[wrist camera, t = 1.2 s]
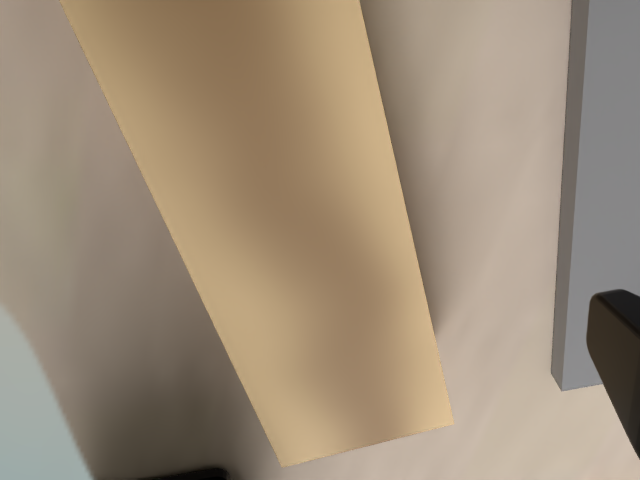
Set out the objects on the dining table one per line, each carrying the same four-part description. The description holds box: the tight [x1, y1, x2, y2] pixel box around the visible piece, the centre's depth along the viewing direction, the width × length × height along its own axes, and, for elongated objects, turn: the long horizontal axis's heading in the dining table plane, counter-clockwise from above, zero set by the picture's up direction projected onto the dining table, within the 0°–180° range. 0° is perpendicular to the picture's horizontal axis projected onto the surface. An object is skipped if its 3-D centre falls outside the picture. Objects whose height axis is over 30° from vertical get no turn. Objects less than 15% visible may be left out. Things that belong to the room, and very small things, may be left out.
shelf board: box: [59, 0, 454, 468], centre depth 17 cm, size 6×22×4 cm, turn 15°
